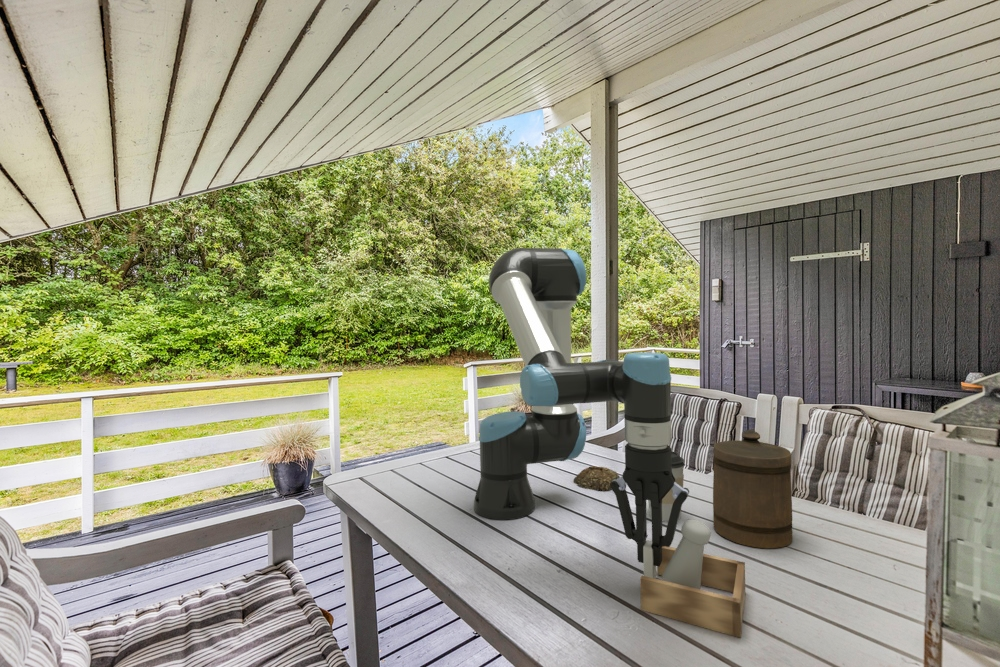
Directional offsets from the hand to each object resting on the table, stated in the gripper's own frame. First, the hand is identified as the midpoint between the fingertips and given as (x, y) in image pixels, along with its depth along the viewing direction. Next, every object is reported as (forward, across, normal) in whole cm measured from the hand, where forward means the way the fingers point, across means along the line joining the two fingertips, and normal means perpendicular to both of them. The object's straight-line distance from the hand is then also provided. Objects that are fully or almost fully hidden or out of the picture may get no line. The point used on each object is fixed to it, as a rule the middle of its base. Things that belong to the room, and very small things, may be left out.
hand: (650, 582), depth 79 cm
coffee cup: (+2, -4, +33) cm, 33 cm away
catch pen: (+1, +7, 0) cm, 7 cm away
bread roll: (+2, -25, +48) cm, 54 cm away
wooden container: (+2, +14, +32) cm, 35 cm away
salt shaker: (+1, +4, -1) cm, 5 cm away
